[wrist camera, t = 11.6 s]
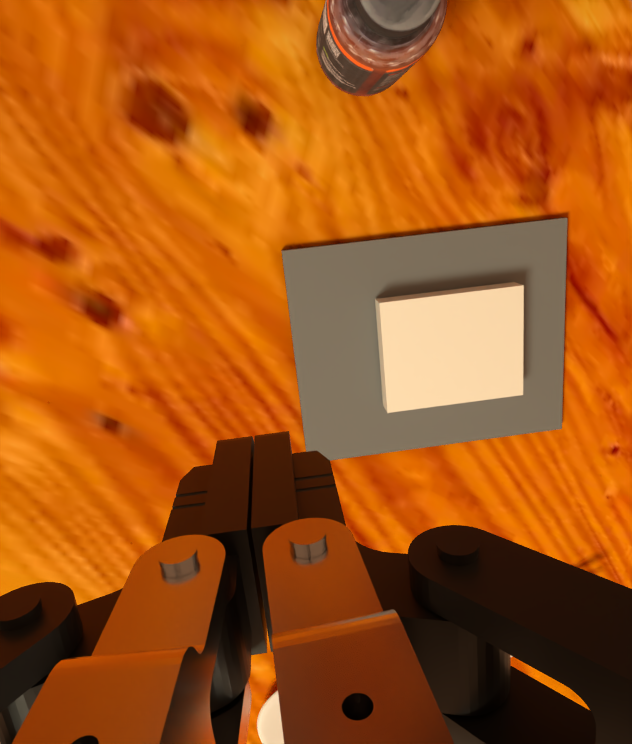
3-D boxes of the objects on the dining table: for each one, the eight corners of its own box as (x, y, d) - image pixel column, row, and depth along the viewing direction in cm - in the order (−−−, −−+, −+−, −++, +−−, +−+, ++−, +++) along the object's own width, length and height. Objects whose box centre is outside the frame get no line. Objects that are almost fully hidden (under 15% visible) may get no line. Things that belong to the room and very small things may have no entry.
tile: (379, 302, 38) (523, 285, 39) (374, 298, 40) (512, 281, 40) (387, 413, 41) (523, 394, 41) (382, 404, 42) (512, 386, 43)
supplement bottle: (425, 28, 36) (495, -45, 25) (376, 116, 37) (423, 84, 26) (344, -30, 34) (381, -133, 24) (297, 64, 36) (311, 7, 25)
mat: (307, 459, 44) (307, 463, 43) (281, 250, 39) (281, 251, 38) (557, 425, 45) (561, 428, 44) (563, 217, 40) (567, 217, 39)
